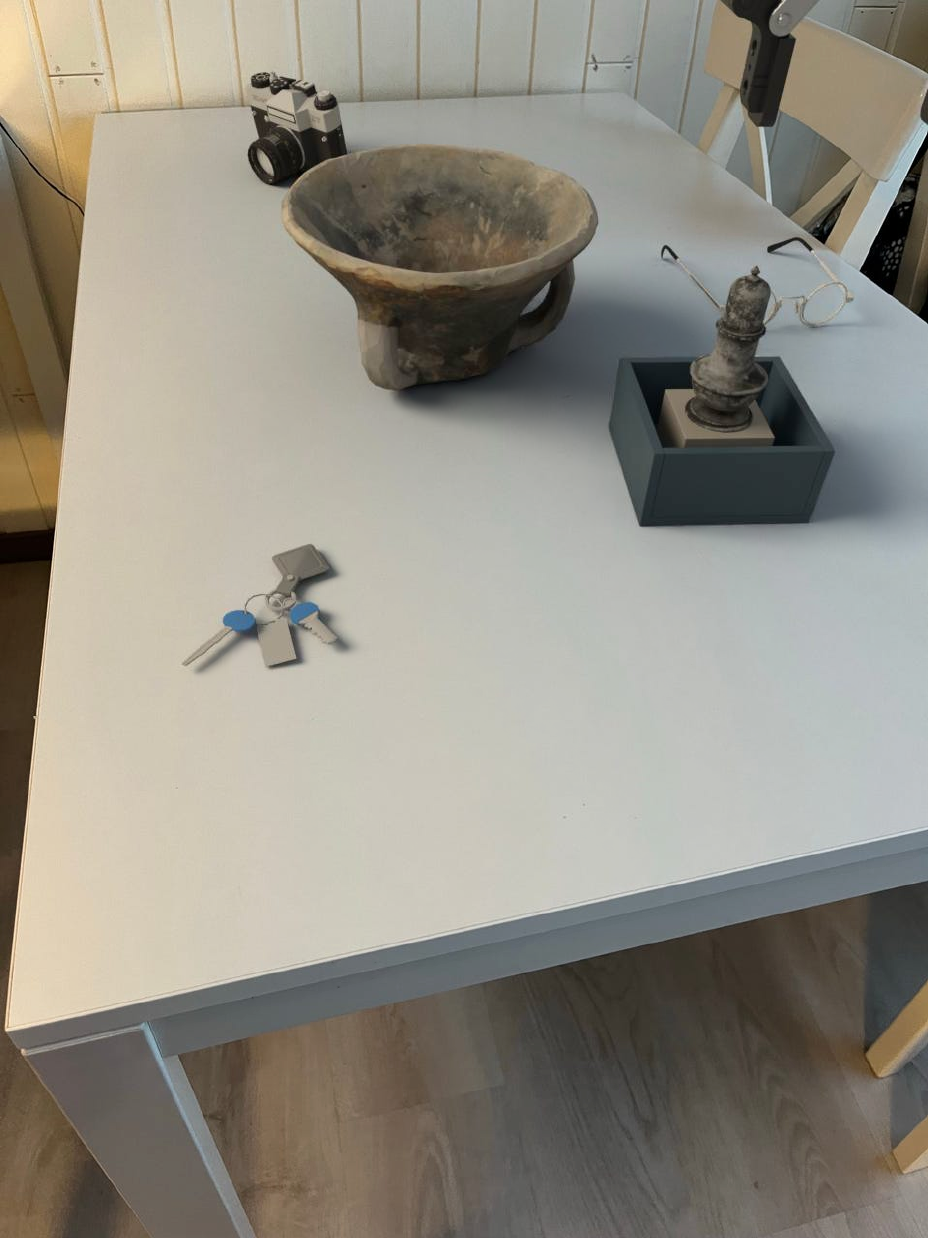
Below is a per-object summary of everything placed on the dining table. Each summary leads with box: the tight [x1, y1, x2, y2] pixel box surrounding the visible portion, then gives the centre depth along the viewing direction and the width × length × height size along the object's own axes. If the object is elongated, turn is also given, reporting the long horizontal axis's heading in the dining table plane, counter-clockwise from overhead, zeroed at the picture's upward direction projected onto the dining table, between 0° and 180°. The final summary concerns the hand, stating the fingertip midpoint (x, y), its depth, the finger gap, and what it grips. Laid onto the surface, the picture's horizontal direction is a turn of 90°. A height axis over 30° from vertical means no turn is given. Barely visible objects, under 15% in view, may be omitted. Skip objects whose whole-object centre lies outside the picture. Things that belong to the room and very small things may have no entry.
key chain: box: [181, 543, 338, 668], centre depth 65 cm, size 14×8×1 cm, turn 157°
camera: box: [245, 71, 349, 185], centre depth 119 cm, size 15×11×10 cm
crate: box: [607, 355, 836, 527], centre depth 77 cm, size 14×14×7 cm
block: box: [657, 389, 775, 448], centre depth 77 cm, size 7×7×5 cm
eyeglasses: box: [660, 236, 855, 328], centre depth 101 cm, size 16×19×5 cm
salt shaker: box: [685, 265, 772, 432], centre depth 71 cm, size 6×6×12 cm
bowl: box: [280, 143, 599, 391], centre depth 86 cm, size 27×26×15 cm
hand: (847, 123), depth 45 cm, fingers open, 8 cm apart
